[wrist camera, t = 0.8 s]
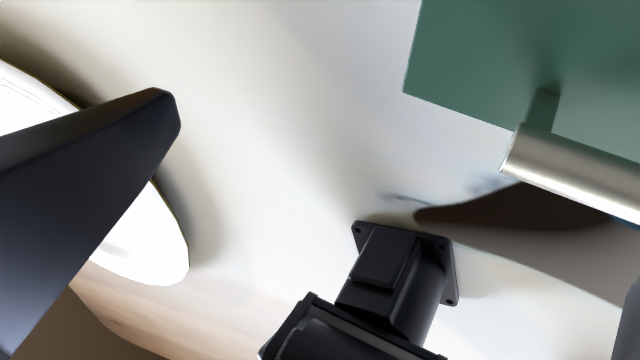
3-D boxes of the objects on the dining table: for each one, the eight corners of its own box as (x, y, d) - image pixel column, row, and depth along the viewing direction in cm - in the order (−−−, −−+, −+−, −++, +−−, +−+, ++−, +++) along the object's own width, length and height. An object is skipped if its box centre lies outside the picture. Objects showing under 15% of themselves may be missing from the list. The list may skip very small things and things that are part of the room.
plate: (-103, -33, 38) (-128, -22, 37) (218, 170, 36) (203, 187, 35) (-11, 176, 61) (-24, 186, 60) (188, 305, 60) (178, 318, 58)
